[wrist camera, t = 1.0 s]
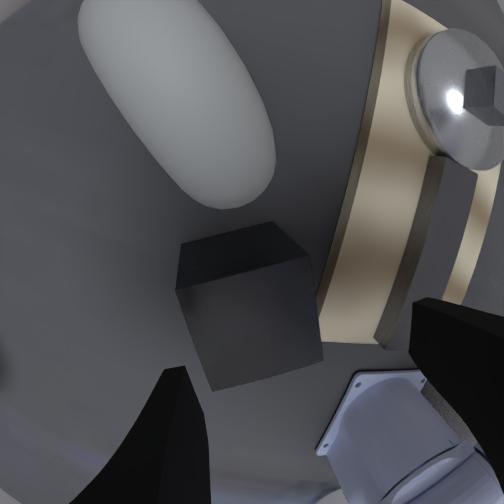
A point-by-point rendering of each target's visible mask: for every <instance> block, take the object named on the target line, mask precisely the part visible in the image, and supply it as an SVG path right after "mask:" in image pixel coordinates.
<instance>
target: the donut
mask: <svg viewBox="0 0 504 504" xmlns="http://www.w3.org/2000/svg"><path fill="white" fill-rule="evenodd" d="M78 31H79V37H80V42H81V45H82V47H83V49H84V51H85V53H86V55H87V57H88V59H89V61H90V64H91V65H92V67H93V69H94V71H95V72H96V74H97V76H98V77H99V79H100V81H101V82H102V84H103V86H104V87H105V89H106V91H107V92H108V94H109V96H110V97H111V99H112V100H113V102H114V103H115V105H116V106H117V108H118V109H119V111H120V112H121V114H122V115H123V116H124V118H125V119H126V121H127V122H128V124H129V125H130V127H131V128H132V129H133V131H134V132H135V133H136V135H137V136H138V137H139V139H140V140H141V141H142V143H143V144H144V145H145V146H146V148H147V149H148V150H149V152H150V153H151V154H152V156H153V157H154V158H155V159H156V161H157V162H158V163H159V164H160V165H161V166H162V168H163V169H164V170H165V171H166V172H167V173H168V174H169V176H170V177H171V178H172V179H173V180H174V181H175V182H176V183H177V185H178V186H179V187H180V188H181V189H182V190H183V191H184V192H185V193H187V194H188V195H189V196H190V197H191V198H192V199H194V200H196V201H198V202H199V203H201V204H203V205H205V206H207V207H212V208H217V209H230V208H238V207H241V206H243V205H245V204H247V203H249V202H252V201H253V200H255V199H256V198H257V197H258V196H259V195H260V194H261V193H262V192H264V191H265V189H266V188H267V186H268V184H269V183H270V181H271V179H272V177H273V174H274V170H275V165H276V153H275V143H274V136H273V130H272V127H271V124H270V121H269V118H268V115H267V112H266V109H265V106H264V104H263V101H262V99H261V97H260V95H259V93H258V91H257V89H256V87H255V85H254V83H253V81H252V79H251V77H250V75H249V73H248V71H247V69H246V67H245V65H244V64H243V62H242V60H241V59H240V57H239V56H238V54H237V52H236V51H235V49H234V48H233V46H232V45H231V43H230V42H229V40H228V39H227V37H226V36H225V34H224V33H223V31H222V30H221V28H220V27H219V25H218V24H217V23H216V22H215V21H214V19H213V18H212V17H211V16H210V15H209V13H208V12H207V11H206V10H205V9H204V7H203V6H202V5H201V4H200V3H199V2H198V0H84V1H83V3H82V5H81V8H80V12H79V16H78Z"/></svg>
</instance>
